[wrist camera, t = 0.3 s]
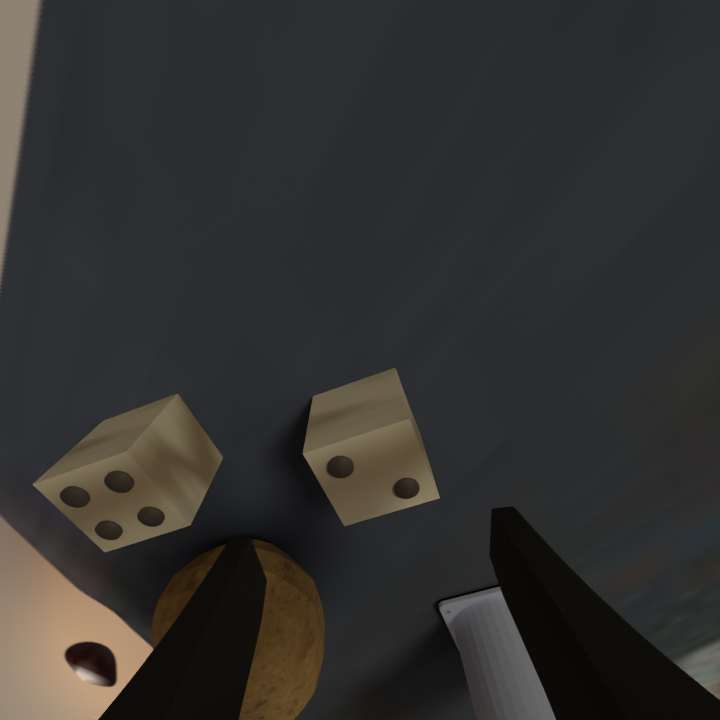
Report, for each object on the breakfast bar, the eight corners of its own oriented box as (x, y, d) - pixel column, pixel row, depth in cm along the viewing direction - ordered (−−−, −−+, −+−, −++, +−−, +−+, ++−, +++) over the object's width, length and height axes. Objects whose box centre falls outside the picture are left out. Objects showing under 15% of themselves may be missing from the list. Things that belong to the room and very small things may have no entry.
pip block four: (223, 456, 21) (189, 528, 17) (154, 480, 22) (102, 555, 17) (178, 392, 19) (124, 453, 15) (103, 420, 20) (29, 486, 15)
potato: (243, 630, 29) (208, 772, 22) (159, 519, 23) (74, 662, 16) (352, 608, 28) (354, 747, 21) (294, 487, 23) (268, 622, 15)
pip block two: (420, 434, 21) (440, 500, 16) (345, 458, 22) (344, 528, 17) (395, 367, 19) (410, 420, 14) (313, 395, 20) (302, 456, 15)
